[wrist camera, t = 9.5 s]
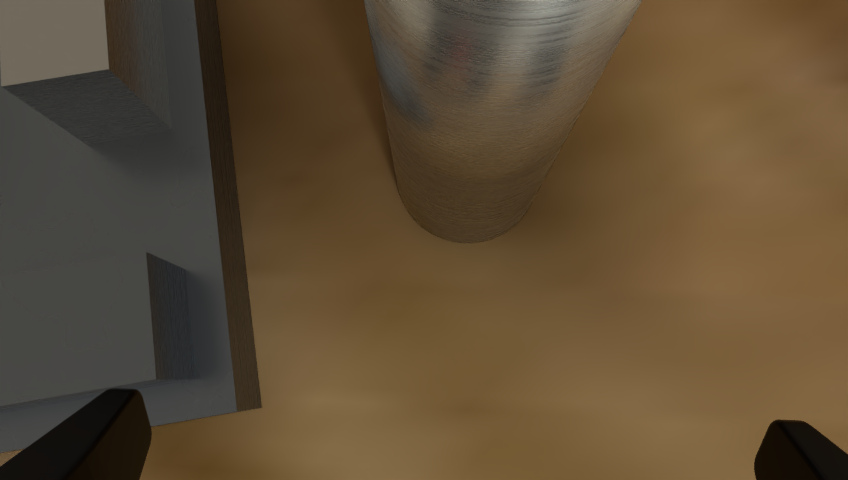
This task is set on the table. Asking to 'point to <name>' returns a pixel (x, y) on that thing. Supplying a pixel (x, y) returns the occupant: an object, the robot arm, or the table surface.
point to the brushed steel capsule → (485, 99)
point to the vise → (118, 215)
